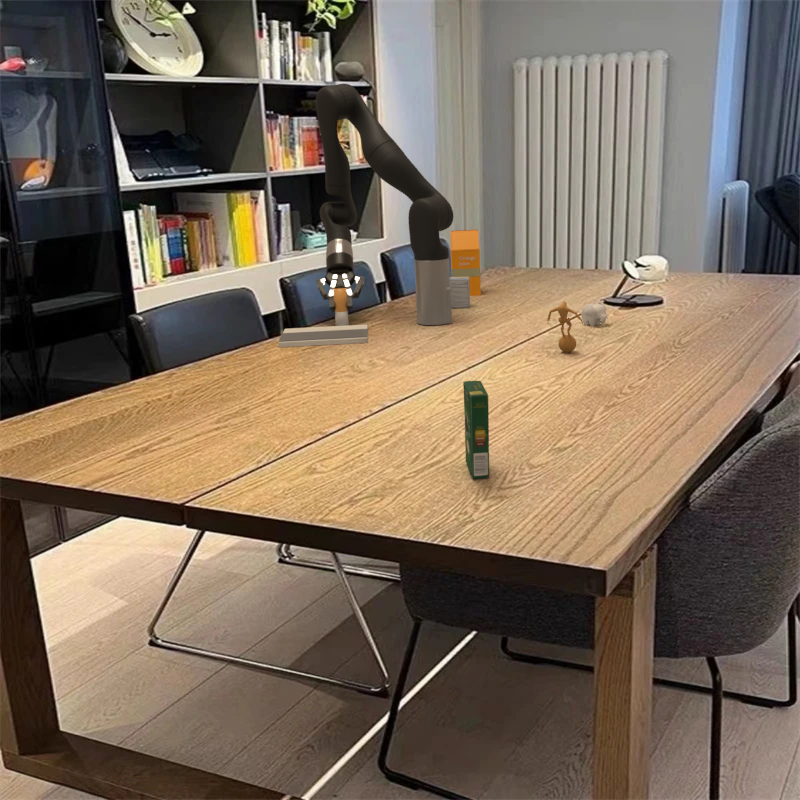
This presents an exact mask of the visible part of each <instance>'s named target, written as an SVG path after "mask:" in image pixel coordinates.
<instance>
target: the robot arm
mask: <svg viewBox="0 0 800 800" xmlns="http://www.w3.org/2000/svg"><path fill="white" fill-rule="evenodd" d="M315 109H316V116H317V123H318V127H319V134H320V139H321V143H322V150H323V156H324V168H325V169H324V173H325V175H324V177H325V178H324V179H325V180H324V181H325V191H326V193H327V194H328V195H331V196H334V197H338V198H340V199H342V200H343V201H327V202H326V201H325V202H324V203H322V205H321V207H320V209H319V216H320V221H321V223H322V226H323V228H324V230H325V234H326V250H325V251H326V252H325V262H326V263H325V265H326V268H325V269H326V273H325V274H326V275H324V278H321V279H320V278H319V277H318V278H316V279H315V283H316V286H317V287H316V288H317V290H318V291H319V294H320V296H321V297H322V298H323V300H324V301H325V300H326V301H327V300H328V305H329V310H330V311H332V312H333V313H335V307H334V294H333V289H336V288H346V289H347V309H348V312H351V310H352V309H353V299H358V298H359V297H360V295H361V293H362V290H363V288H364V286H365V277H364V276H363V275H361V276H356V274H355V273H354V253H353V252H354V251H353V247H352V245H353V244H352V242H353V241H352V232H351V230H350V228H349V227H352V226H354V225H355V223H356V222H357V218H358V214H357V210H356V208H357V207H356V205H355V202H354V199H353V196H352V191H351V190H352V189H351V166H350V161H349V158H348V156H347V153H346V152H345V150H344V148H343V145H342V144H341V141H340V138H339V134H338V122H339V121H340V120H345V119H346V120H348V121H349V122H350V123H351V124H352V126H353V127H354V129H356V131H357V133H358V135H359V136H360V142H361V150H362V155H363V157H364V160H365V161H366V163H367V164H368V165H369V167H370V168H371V169H372V170H373V172H374V173H375V174H376V175H377V176H378V177H379V178H380V179H381V180H382V181H384V182H385V183H386V184H388V185H389V186H391V187H392V188H394V189H396V190H397V191H399V192H400V193H402V194H403V195H405V196H406V197H407V198H408V199H409V200H410V201H411V202H412V203H411V205H410V206H409V211H408V219H407V220H408V230H409V241H410V247H411V251H412V252H413V256H414V257H413V259H414V261H413V262H414V279H415V285H414V286H415V301H416V304H415V305H416V307H415V308H416V323H417V324H419V325H423V326H440V325H446V324H452V323H453V321H452V320H453V319H452V317H453V316H452V308H451V288H450V277H451V275H450V251H449V248H448V246H446V245H444V244H442V242H441V239H440V232H443V231H445V230H447V229H448V228H450V227H451V226H452V224H453V222H454V210H453V208H452V205H451V204H450V202H449V201H448V199H446V197H444V196H443V194H441V193H440V191H438V190H437V189H436V187H434V186H433V185H432V184H431V182H429V180H427V178H425V176H424V175H423V174H422V173H421V172H420V171H419V169H418V168H417V166H415V165H414V163H413V162H412V161H411V160H410V159H409V158H408V156H407V155H406V154H405V152H404V151H403V150H402V148H401V147H400V146H399V144H398V143H397V142H396V141H395V140H394V139H393V138H392V137H391V136H390V134H389V133H388V132H387V131H386V130H385V128H384V127H383V126H382V124H381V123H380V122H379V121H378V119H377V118H376V116H375V115H374V114H373V112H372V111H371V110H370V108H369V107H368V105H367V104H366V102H365V101H364V99H363V97H362V96H361V94H360V93H359V91H358V90H357V89H356V88H355V87H354V86H352V85H351V84H350V83H349V84H348V83H338V84H333V85H327V86H323V87H321V88H320V89H319V90H318V91H317V93H316V98H315ZM354 282H355V284H356V286H355V288H354V291H352V288H351V286H352V285H353V284H354ZM325 285H328V286H329V292H327V290H326V288H325Z"/></svg>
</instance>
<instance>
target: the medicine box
mask: <svg viewBox="0 0 800 800" xmlns="http://www.w3.org/2000/svg"><path fill="white" fill-rule="evenodd" d="M450 288H451V309H467V308H468V309H470V307H471V296H470V285H469V277H452V276H450Z"/></svg>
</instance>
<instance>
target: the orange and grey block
mask: <svg viewBox="0 0 800 800" xmlns="http://www.w3.org/2000/svg"><path fill="white" fill-rule="evenodd" d="M333 294H334V307H335V312H334V317H335V318H334V319H335V326H347V325H350V321H349V311H348V309H347V289H346V288H336V289H333Z"/></svg>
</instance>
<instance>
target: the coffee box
mask: <svg viewBox="0 0 800 800" xmlns="http://www.w3.org/2000/svg"><path fill="white" fill-rule="evenodd" d="M463 407H464V408H463V409H464V410H463V411H464V440H465V442H464V443H465V444H464V445H465V462H466V463H465V464H466V466H467V469H468V470H469V474H470V476H471V479H472V480H479V479H480V480H481V479H483V480H484V479H490V438H489V437H490V436H489V435H490V434H489V432H490V429H489V427H490V426H489V425H490V424H489V423H490V422H489V421H490V420H489V415H490V414H489V394H488V392H487V390H486V388H485V387H484V384H483V382H482V380H466V381H463Z"/></svg>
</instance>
